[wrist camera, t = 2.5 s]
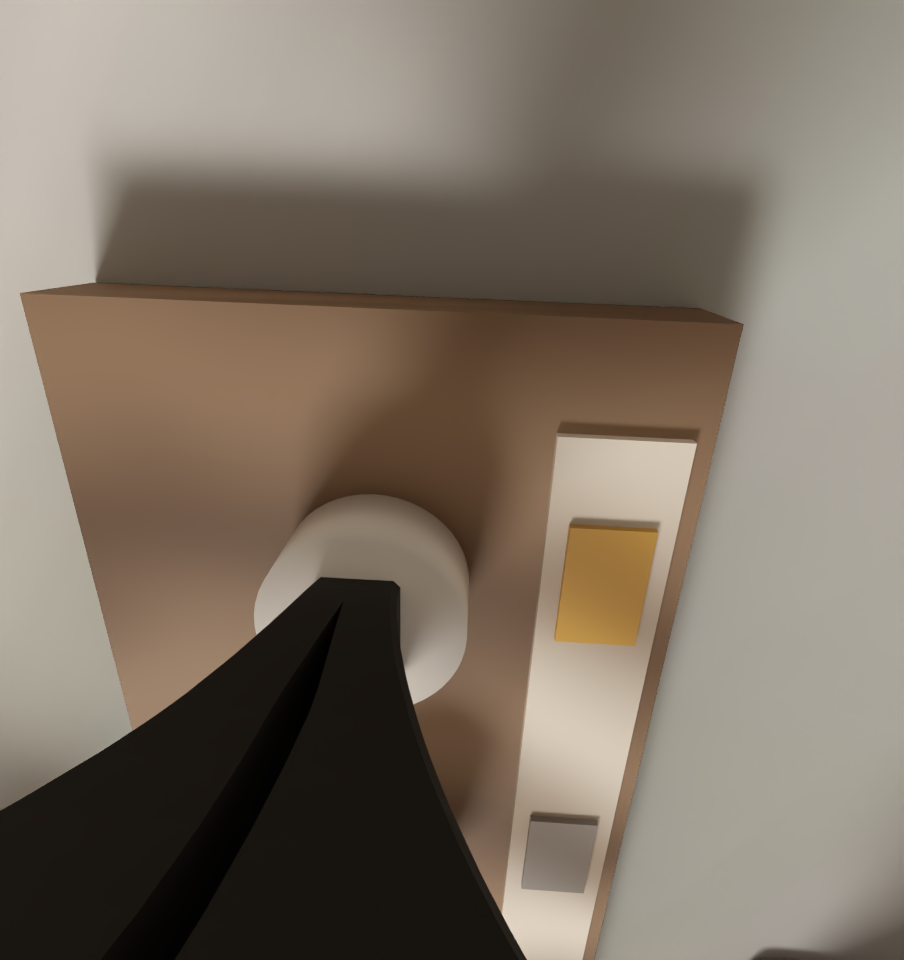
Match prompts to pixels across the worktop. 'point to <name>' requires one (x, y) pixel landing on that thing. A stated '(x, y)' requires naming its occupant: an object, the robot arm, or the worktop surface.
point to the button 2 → (383, 576)
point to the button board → (430, 485)
